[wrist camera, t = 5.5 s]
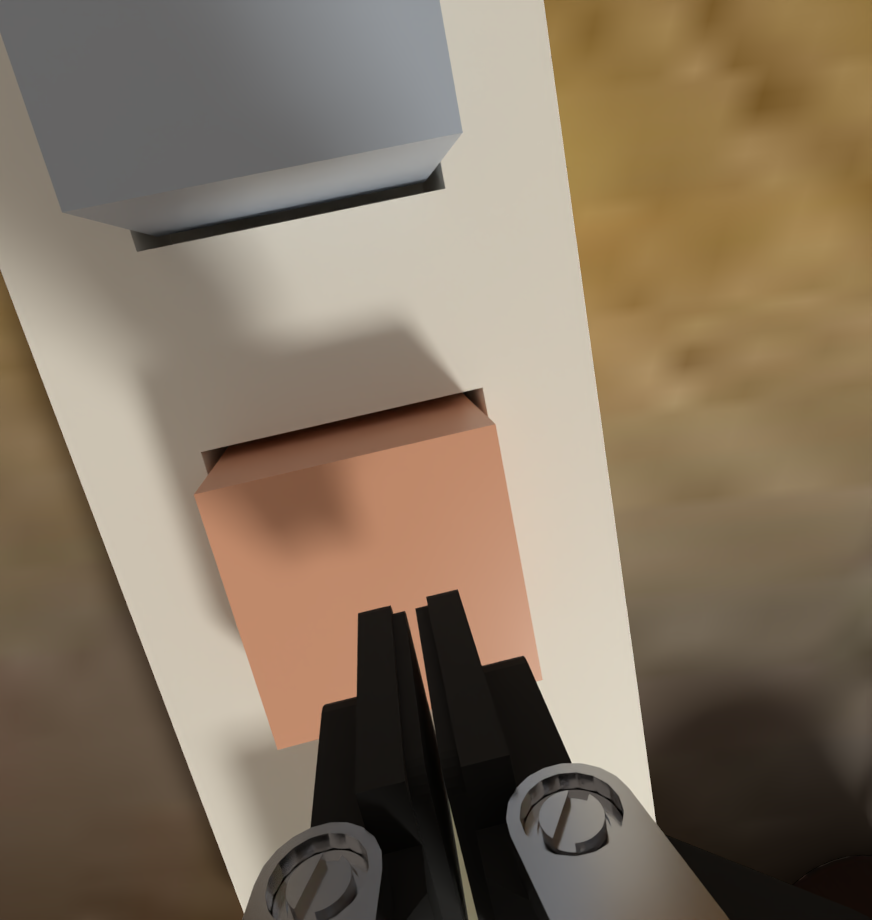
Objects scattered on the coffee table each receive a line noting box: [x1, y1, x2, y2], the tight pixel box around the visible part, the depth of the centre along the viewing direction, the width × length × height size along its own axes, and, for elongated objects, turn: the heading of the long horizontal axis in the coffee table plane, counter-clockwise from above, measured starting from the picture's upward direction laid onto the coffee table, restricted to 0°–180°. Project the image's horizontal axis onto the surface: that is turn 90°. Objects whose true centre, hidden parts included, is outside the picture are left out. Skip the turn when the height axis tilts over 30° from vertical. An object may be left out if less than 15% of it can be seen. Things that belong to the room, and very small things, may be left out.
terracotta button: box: [194, 392, 543, 750], centre depth 16 cm, size 6×6×5 cm
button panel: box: [0, 0, 656, 913], centre depth 18 cm, size 12×31×4 cm, turn 12°
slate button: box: [0, 0, 463, 237], centre depth 11 cm, size 6×6×5 cm
